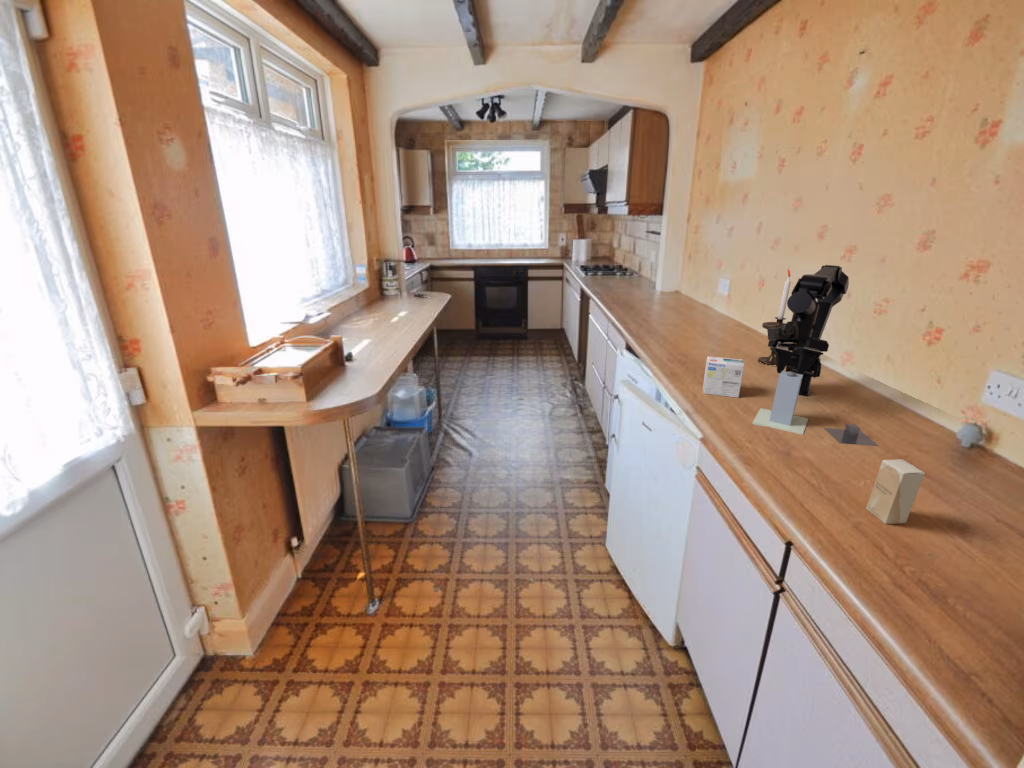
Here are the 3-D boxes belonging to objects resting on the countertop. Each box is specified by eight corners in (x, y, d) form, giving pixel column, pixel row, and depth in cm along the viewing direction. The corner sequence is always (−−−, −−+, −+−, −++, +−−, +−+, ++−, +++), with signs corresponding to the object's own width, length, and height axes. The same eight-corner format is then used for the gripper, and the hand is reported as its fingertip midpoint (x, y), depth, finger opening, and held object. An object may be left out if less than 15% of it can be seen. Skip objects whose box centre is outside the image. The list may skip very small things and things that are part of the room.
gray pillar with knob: (772, 415, 136) (782, 368, 131) (792, 419, 133) (803, 372, 128) (769, 421, 132) (779, 373, 127) (790, 425, 129) (801, 376, 124)
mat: (760, 410, 140) (760, 408, 140) (807, 420, 134) (808, 418, 134) (752, 424, 131) (752, 422, 131) (802, 436, 125) (803, 433, 124)
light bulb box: (737, 391, 155) (743, 358, 151) (739, 398, 149) (745, 365, 145) (701, 386, 158) (706, 355, 154) (702, 393, 152) (707, 361, 148)
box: (864, 508, 95) (880, 458, 91) (885, 507, 95) (901, 457, 91) (886, 525, 90) (904, 473, 86) (908, 524, 90) (926, 472, 86)
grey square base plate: (822, 429, 129) (826, 417, 128) (859, 431, 128) (863, 419, 126) (839, 444, 120) (842, 432, 119) (878, 447, 119) (882, 435, 118)
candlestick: (751, 362, 183) (770, 268, 171) (760, 356, 191) (778, 265, 179) (783, 368, 177) (804, 271, 164) (790, 362, 184) (811, 268, 172)
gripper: (758, 315, 145) (744, 366, 146) (797, 311, 126) (781, 369, 127) (793, 323, 146) (779, 374, 147) (837, 321, 127) (821, 378, 128)
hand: (788, 374), depth 137 cm, fingers open, 9 cm apart
